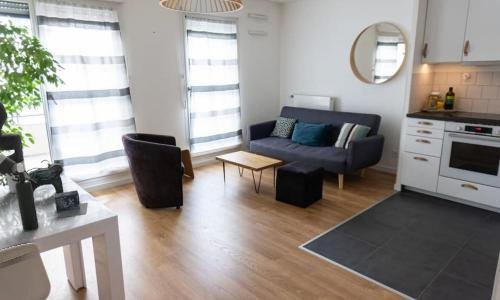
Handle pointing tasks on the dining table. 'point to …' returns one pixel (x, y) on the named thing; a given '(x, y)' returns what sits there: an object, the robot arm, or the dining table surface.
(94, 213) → the dining table surface
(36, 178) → the ceramic cat
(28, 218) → the wine bottle
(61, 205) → the box
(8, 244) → the dining table surface
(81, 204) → the mat
